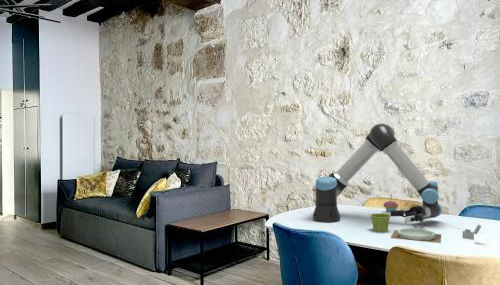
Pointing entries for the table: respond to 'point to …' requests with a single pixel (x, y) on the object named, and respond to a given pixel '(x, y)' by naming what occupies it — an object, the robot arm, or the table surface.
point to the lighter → (471, 233)
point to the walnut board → (435, 240)
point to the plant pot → (380, 222)
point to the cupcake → (390, 205)
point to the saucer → (416, 234)
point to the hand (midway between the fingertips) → (393, 217)
